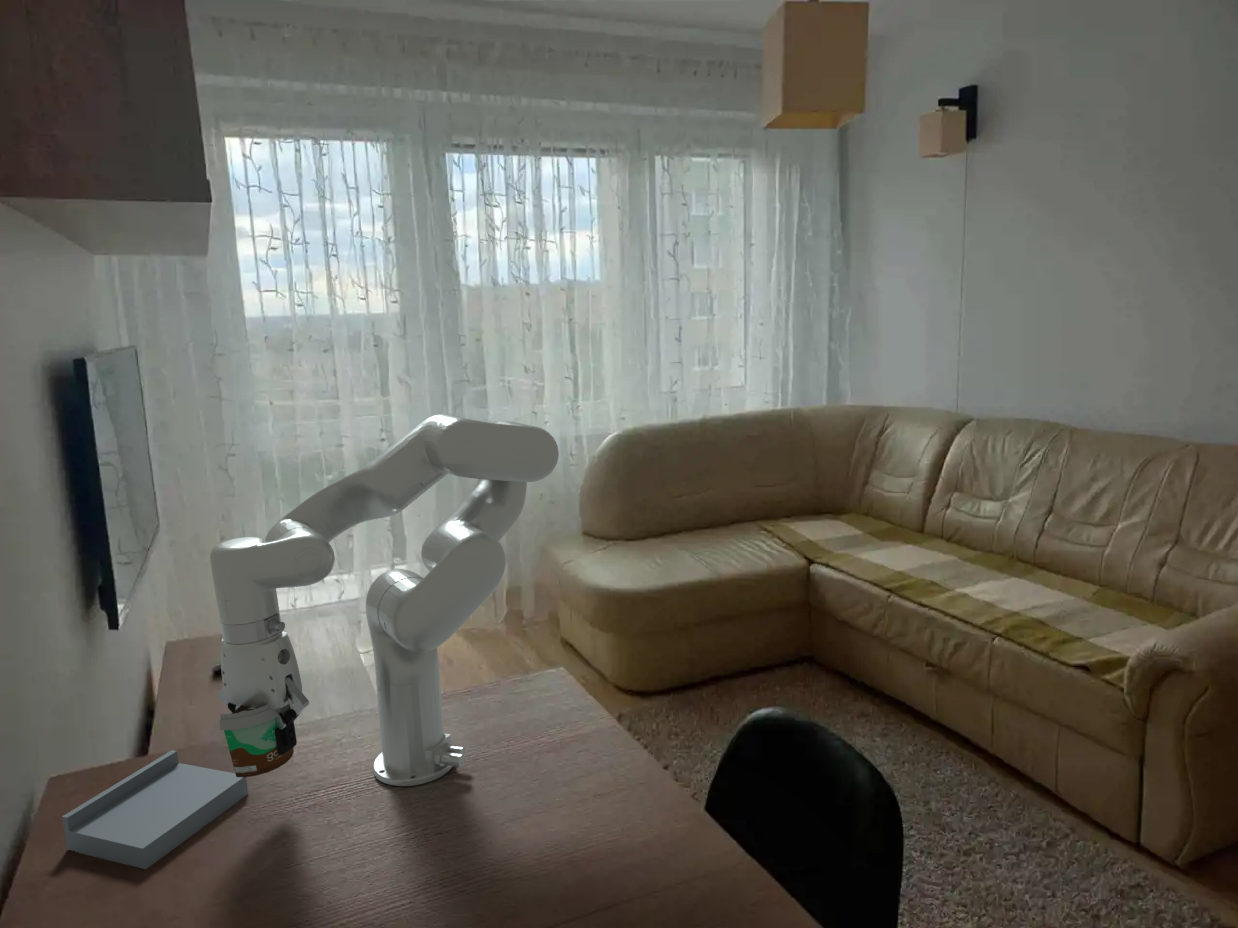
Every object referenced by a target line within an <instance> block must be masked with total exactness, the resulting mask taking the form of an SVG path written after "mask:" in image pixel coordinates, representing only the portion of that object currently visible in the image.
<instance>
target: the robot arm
mask: <svg viewBox="0 0 1238 928" xmlns="http://www.w3.org/2000/svg"><path fill="white" fill-rule="evenodd" d="M559 453H560V451H559V446H558V444H557V441H556V439H555V438H554V436H552V434H551V433H549V432H548V431H547V430H545V429H544V428H541V427H538V426H534V425H530V424H526V423H525V424H524V423H520V422H515V421H509V420H507V421H506V420H505V421H504V420H502V421H501V420H500V421H497V422H490V421H489V422H488V421H482V420H477V419H476V420H475V419H471V418H470V419H469V418H466V417H460V416H456V415H451V414H447V413H445V414H444V413H441V414H435V415H431V416H430V417H428V418H425V419H424V420H423V421H421V422H419V424H417V425H416V426H415V427H413V428H412V429H411V430H409V431H408V432H407V433H405V434H404V435H403V436H401V438H398V440H397V441H395V442H394V443H392V444H391V445H390V446H389V447H387V448H386V449H385V450H384V451H382V452H381V453H380V454H378V455H377V456H376V457H374V458H373V459H372V460H371V461H370V462H367V464H365V465H364V466H362V467H360V469H357V470H356V471H354V472H352V473H350V474H348V475H346V476H344V477H343V478H341V479H339V480H337V481H335V482H333V483H332V484H330V485H328V486H326V487H324V488H322V489H320V490H318V491H317V492H316V493H315V492H314V494H312V495H311V496H309V497H308V498H307V499H305V500H303V502H301V503H299V504H297V506H296V507H294V508H293V509H291V511H289V512H288V513H287V514H286V515H284V516H283V517H281V519H279V520H278V521H277V522H276V523H275V524H274V525H273V526H272V527H271V528H270V529H269V530H268V532H267V534H266V536H265V537H264V539H263V538H261V537H256V536H245V537H243V536H242V537H236V538H231V539H227V540H224V541H222V542H220V543H218V544H216V545H214V547H213V548H212V549H211V552H210V555H209V561H210V568H211V573H212V580H213V585H214V586H213V587H214V592H215V598H216V604H217V610H218V611H217V612H218V615H219V622H220V623H219V624H220V629H221V630H220V631H221V634H222V638H221V642H220V670H221V679H222V687H221V689H220V690H219V692H218V695H217V696H218V698H219V699H220V700H221V702H223V703H224V704H225V705H226V706H227V709H228V710H229V711H230V712H231V713H233V712H234V711H235V710H236V709H238V708H239V707H240V706H241V705H243V706H249V707H257V708H260V707H263V706H265V705H267V704H268V705H269V708H270V709H273V710H277V713H278V717H276V718H275V722H276V724H277V726H278V728H276V729H275V736H276V745H277V751H278V754H279V755H284V754H285V753H286V752H288V751H289V750H290V749H292V748H293V747H296V746H297V744H298V742H297V741H298V740H297V733H296V728H295V721H296V720H297V719H298V717H299V715H300V714H301V713H302V712H303V711H304V710H305V709H306V708H307V707H308V706H309V705H310V700H309V699H308V697H306V695H304V693H303V686H302V685H303V684H302V679H301V674H300V669H299V664H298V659H297V657H296V654H295V650H294V647H293V643H292V642H291V641H292V640H291V639H290V637H289V635H288V632H286V631H284V630H285V628H286V624H285V622H284V621H282V619H281V613H280V606H279V599H278V594H277V593H278V591H277V589H283V588H284V589H285V588H298V587H299V588H300V587H307V586H311V585H315V584H317V583H320V582H322V581H323V580H324V579H326V578H327V577H328V576H329V575H330V574H331V572H332V570H333V569H334V566H335V560H336V559H335V551H334V548H333V546H332V544H331V543H330V542H331V541H333V540H334V539H335V538H336V537H338V536H339V535H341V534H342V533H344V532H345V531H347V530H348V529H351V528H352V527H354V526H358V525H359V524H362V523H364V522H368V521H372V520H373V521H374V520H377V519H384V518H388V517H391V516H393V515H394V516H395V515H396V514H399V513H401V512H402V511H404V510H405V509H406V508H407V507H408V506H410V505H411V504H412V503H414V501H416V500H417V499H418V498H420V496H422V495H423V494H425V493H426V492H427V491H428V490H429V489H431V488H432V487H433V486H434V485H435V484H437V483H438V482H439V481H441V480H442V479H443V478H444V477H446V475H448V474H449V475H453V476H456V477H461V478H468V479H477V482H476V484H475V485H474V487H473V488H472V490H471V491H470V493H469V494H468V495H467V496H466V497H465V498H464V499H463V501H462V502H461V503H460V504H458V505H457V506H456V507H455V508H454V509H453V511H452V512H451V513H450V514H449V515H448V516H446V518H444V520H442V521H441V523H440V524H438V525H437V526H436V527H435V528H434V529H433V530H432V531H431V532H430V534H428V536H427V537H426V538H425V540H424V542H423V544H422V545H421V546H422V547H421V552H420V553H421V554H420V555H421V559H422V562H423V565H424V567H425V568H426V569H427V570H428V573H427V574H426V575H425V576H424V577H423V576H421V575H420V574H418V573H417V572H414V571H411V570H407V569H404V568H396V569H391V570H388V571H386V572H383V573H382V574H380V575H379V576H377V578H375V579H374V581H373V582H372V583H371V585H370V586H369V588H368V591H367V593H366V599H365V614H366V620H367V621H366V622H367V624H368V625H367V626H368V630H369V635H370V640H371V645H372V652H373V659H374V661H373V662H374V669H375V670H374V671H375V684H376V694H377V695H376V696H377V707H378V708H377V709H378V717H379V728H380V729H379V730H380V738H381V749H382V750H381V751H382V752H380V753H379V754H378V755H377V757H376V758H375V759H374V761H373V764H372V767H373V774H374V776H375V778H376V779H377V780H379V781H380V783H384V784H386V785H389V786H393V787H394V786H395V787H410V786H411V787H413V786H418V785H423V784H427V783H430V782H433V781H435V780H437V779H439V778H441V777H443V776H444V775H446V774H447V773H448V772H450V770H451V769H452V768H453V767H457V768H463V766H464V765H465V762H466V761H465V760H466V755H465V754H466V747H465V746H459V745H456V746H455V745H453V744H452V742H451V734H450V733H445V732H444V717H443V704H442V692H441V691H442V690H441V689H442V688H441V679H440V660H439V652H438V647H441V646H442V645H443V644H444V643H445V642H446V641H448V640H449V639H450V638H452V636H453V635H454V634H455V633H456V632H457V631H458V630H459V629H460V628H461V627H462V626H463V624H465V623H466V622H467V620H469V618H470V617H471V616H472V615H473V614H474V613H475V612H476V611H477V610H478V609H479V608H480V606H482V604H483V603H485V601H486V600H487V599H488V598H489V597H490V596H491V594H492V593H494V592H495V589H496V588H497V587H498V585H499V583H501V580H502V578H503V576H504V573H505V569H506V565H507V564H506V562H507V561H506V560H507V559H506V553H505V550H504V548H503V546H502V544H501V542H500V540H502V538H503V537H504V536H505V535H506V534H507V533H508V531H509V530H510V529H511V528H512V527H513V525H514V524H515V523H516V522H517V520H518V518H519V517H520V515H521V514H522V511H523V508H524V504H525V501H526V495H527V484H528V483H533V482H538V481H541V480H543V479H545V478H547V477H548V476H550V475H551V473H552V472H553V471H554V470H555V468H556V466H557V464H558V460H559V457H560V455H559ZM285 698H287V700H286V701H285V702H284V699H285ZM291 701H292V702H293V705H292V702H291ZM286 705H288V706H289V709H288V710H287V711H286V714H285V715H284V716H283V714H282V712H281V710H280V709H282V708H283V707H285V706H286Z"/></svg>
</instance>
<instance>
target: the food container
mask: <svg viewBox="0 0 1238 928" xmlns="http://www.w3.org/2000/svg"><path fill="white" fill-rule="evenodd" d="M286 700H287V698H285V699H284V702H285V701H286ZM291 702H292V701H291ZM292 705H293V702H292ZM288 709H289V706H288V705H286V706H285V707H283V708H282V709H280V710H281V712H282V714H283V716H284V715H285V714H286V711H287V710H288ZM276 717H278V713H277V710H273V709H270V708H269V705H268V704H267V705H265V706H263V707H260V708H257V707H249V706H243V705H241V706H240V707H239V708H238V709H236V710H235V711H234V712H233V713H232V712H231V713H220V718H219V730H220V731H224V735H225V739H226V743H227V746H228V751H229V755H230V758H231V762H232V766H233V770H234V773H235V774H236V777H246V778H249V777H257V776H260V775H264V774H267V773H269V772H272V771H274V770H277V769H280V768H281V767H282V766H284V765H285V764H286V763H288V762H289V761H290V759H291V758H292V757H293V755H294V747H295V746H294V747H293V748H292V749H290V750H289V751H288V752H286V753H285V754H284V755H279V754H278V751H277V745H276V736H275V729H276V728H278V726H277V724H276V722H275V718H276Z"/></svg>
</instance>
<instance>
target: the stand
mask: <svg viewBox="0 0 1238 928" xmlns="http://www.w3.org/2000/svg"><path fill="white" fill-rule="evenodd" d="M178 755H179V754H178V750H173V749H172V750H170V751H168V752H166V753H164V754H162V755H161V756H160V757H158V758H157V759H155V760H153V761H152V762H150V763H148V764H147V765H145V766H143V767H141V768H140V769H138V770H136V771H135V772H133V773H132V774H130V775H128V776H126V777H125V778H123V779H122V780H119V782H117V783H115V784H114V785H111V786H110V787H108V788H107V789H105V790H103V791H102V792H100V793H98V794H97V795H95V796H94V797H92V798H90V799H89V800H87V801H85V802H84V803H82V804H80V805H78V806H77V807H76V808H73V809H72V810H70V811H69V812H67V813H65V814H63V815H62V816H61V821H62V825H63V831H64V838H65V844H66V849H70V850H71V851H70V852H73V851H75V852H74V853H77V852H78V853H77V854H82V855H85V856H90V857H94V858H98V859H101V860H106V861H110V862H113V863H118V864H122V865H125V866H131V867H134V868H139V869H143V870H148V869H149V868H150V867H151V866H153V865H154V864H155V863H157V862H158V861H159V860H161V859H163V857H165V856H166V855H168V854H169V853H170V852H172V851H173V850H175V848H177V847H178V846H180V845H181V844H182V843H184V842H185V841H186V840H188V839H190V837H192V836H193V835H195V834H196V833H198V832H199V831H200V830H201V829H203V828H204V827H205V826H208V824H209V823H211V822H212V821H214V820H215V819H216V818H218V817H219V816H220V815H222V814H223V813H225V812H226V811H228V810H229V809H231V808H232V806H234V805H236V803H238V802H239V801H241V800H242V799H244V798H245V797H247V796H248V795H249V789H248V780H247V777H236V774H235V772H229V771H224V770H219V769H215V768H207V767H203V766H198V765H191V764H187V763H181V762H179V756H178Z"/></svg>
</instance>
